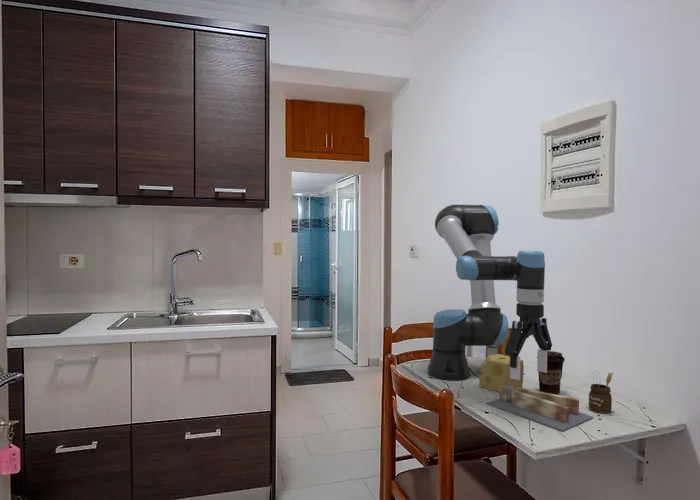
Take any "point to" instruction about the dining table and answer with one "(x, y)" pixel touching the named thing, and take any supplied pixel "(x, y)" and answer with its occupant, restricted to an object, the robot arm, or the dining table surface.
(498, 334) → the robot arm
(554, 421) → the mat
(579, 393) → the dining table surface
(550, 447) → the dining table surface
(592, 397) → the utensil holder
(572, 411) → the tongs swing arm
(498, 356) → the cheese
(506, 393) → the arm
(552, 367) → the coffee cup
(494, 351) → the baking soda box
